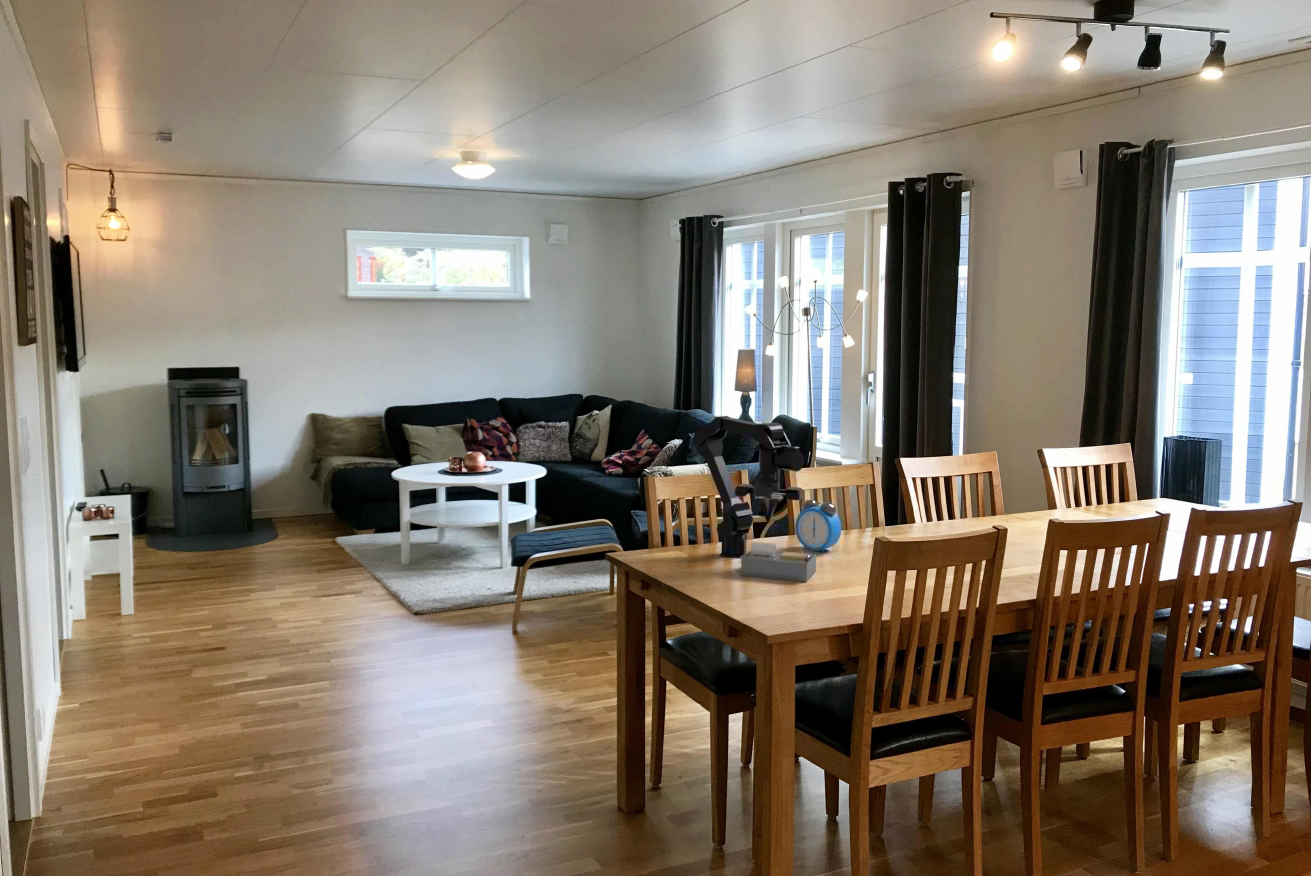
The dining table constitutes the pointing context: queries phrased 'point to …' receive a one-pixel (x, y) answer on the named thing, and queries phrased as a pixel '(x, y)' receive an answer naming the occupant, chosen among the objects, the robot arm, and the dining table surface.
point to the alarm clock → (818, 526)
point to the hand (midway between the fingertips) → (768, 521)
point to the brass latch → (796, 555)
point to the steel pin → (763, 549)
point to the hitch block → (778, 567)
